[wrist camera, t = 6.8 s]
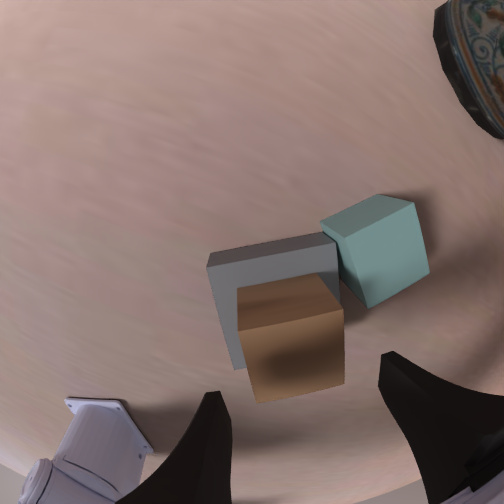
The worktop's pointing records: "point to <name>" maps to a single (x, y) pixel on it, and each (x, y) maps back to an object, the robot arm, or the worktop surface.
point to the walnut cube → (291, 337)
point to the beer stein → (474, 57)
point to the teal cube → (378, 247)
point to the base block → (266, 275)
